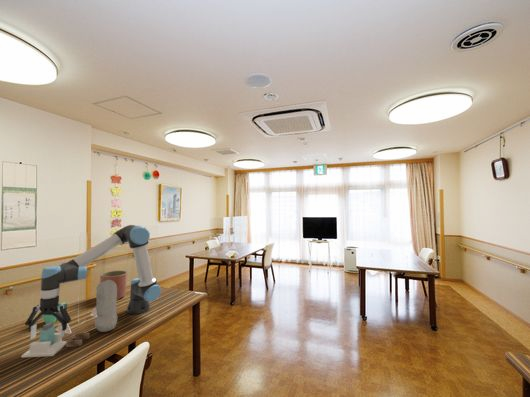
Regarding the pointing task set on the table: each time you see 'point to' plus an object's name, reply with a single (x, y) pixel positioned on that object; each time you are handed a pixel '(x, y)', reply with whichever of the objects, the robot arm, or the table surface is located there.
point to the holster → (77, 336)
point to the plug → (47, 333)
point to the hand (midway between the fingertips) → (47, 337)
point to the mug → (52, 318)
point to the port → (45, 347)
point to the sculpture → (106, 306)
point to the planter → (116, 281)
